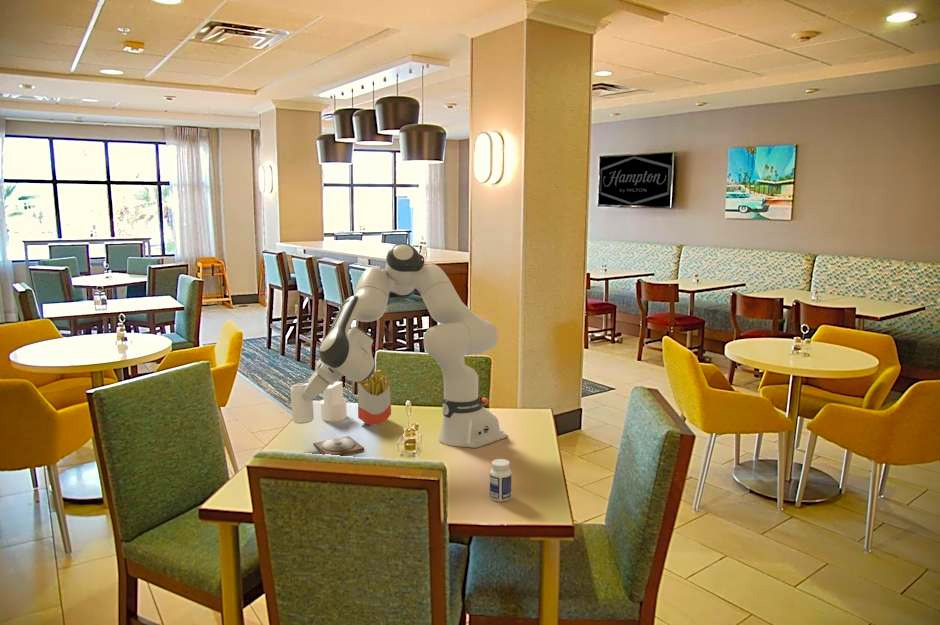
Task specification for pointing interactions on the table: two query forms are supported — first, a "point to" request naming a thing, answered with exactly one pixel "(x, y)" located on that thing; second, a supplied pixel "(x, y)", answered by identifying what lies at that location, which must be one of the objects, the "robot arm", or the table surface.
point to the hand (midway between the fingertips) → (299, 399)
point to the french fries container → (374, 399)
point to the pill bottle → (500, 480)
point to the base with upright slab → (333, 403)
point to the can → (301, 404)
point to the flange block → (339, 446)
